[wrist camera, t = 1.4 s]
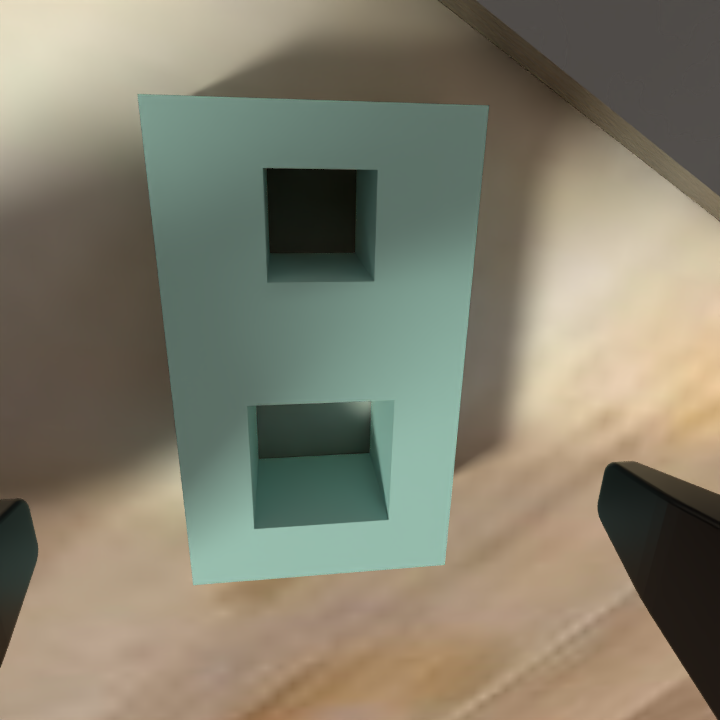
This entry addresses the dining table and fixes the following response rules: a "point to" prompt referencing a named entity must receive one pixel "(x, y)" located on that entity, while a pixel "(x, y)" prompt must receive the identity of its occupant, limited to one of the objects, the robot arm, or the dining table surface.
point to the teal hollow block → (314, 325)
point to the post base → (626, 73)
